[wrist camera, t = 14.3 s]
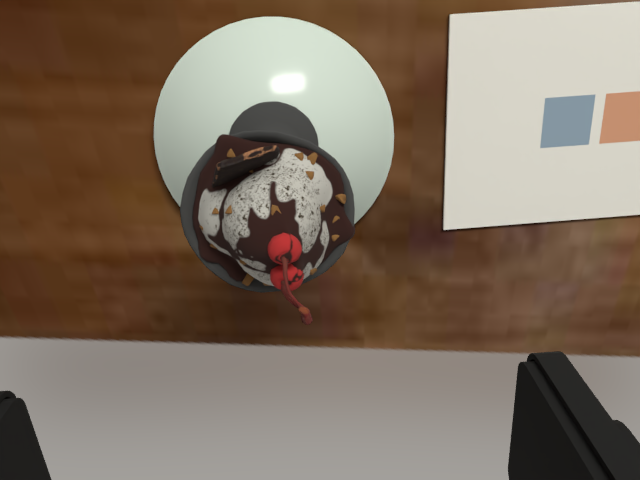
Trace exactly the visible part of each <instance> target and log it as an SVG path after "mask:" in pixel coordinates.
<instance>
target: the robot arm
mask: <svg viewBox="0 0 640 480" xmlns="http://www.w3.org/2000/svg"><path fill="white" fill-rule="evenodd" d="M508 474H509V480H640V443H639V442H638V441H637V439H636V438H635V437H634V435H633V434H632V433H631V431H630V430H629V429H628V428H627V427H626V426H625V425H624V424H623V423H622V422H620V421H618V420H612V419H611V417H610V416H609V415H608V413H607V412H606V411H605V409H604V408H603V406H602V405H601V403H600V402H599V401H598V399H597V398H596V397H595V395H594V394H593V392H592V391H591V390H590V389H589V387H588V386H587V384H586V383H585V382H584V380H583V379H582V377H581V376H580V375H579V373H578V372H577V371H576V369H575V368H574V366H573V365H572V364H571V362H570V361H569V360H568V358H567V357H566V355H565V354H564V353H563V352H560V351H558V352H544V353H531V354H529V356H528V358H527V362H520V364H519V366H518V373H517V384H516V393H515V403H514V414H513V423H512V434H511V443H510V453H509V464H508ZM0 480H51V477H50V474H49V472H48V469H47V466H46V463H45V460H44V457H43V454H42V451H41V449H40V446H39V442H38V440H37V437H36V434H35V431H34V428H33V425H32V422H31V419H30V416H29V413H28V410H27V407H26V405H25V402H24V401H23V400H22V399H21V398H16V396H15V394H13V393H12V392H11V391H0Z"/></svg>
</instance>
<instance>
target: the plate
mask: <svg viewBox="0 0 640 480" xmlns="http://www.w3.org/2000/svg"><path fill="white" fill-rule="evenodd" d="M272 101H278V102H282V103H286V104H289V105H291V106H294V107H296V108H297V109H298V110H300V111H301V112H303V113H304V114H305V115H306V116H307V117H308V118H309V119H310V121H311V123H312V124H313V126H314V128H315V131H316V133H317V136H318V143H319V147H320V148H322V149H323V150H325V151H326V152H327V153H329V154H330V155H331V156H332V157H334V158H335V159H336V160H337V162H338V163H339V164H340V165H341V167H342V168H343V169H344V171H345V173H346V175H347V177H348V179H349V181H350V184H351V188H352V191H353V194H354V206H355V215H354V224H355V223H356V222H357V221H358V220H359V219H360V218H361V217H362V216H363V215H364V214H365V213H366V212H367V211H368V209H369V208H370V207H371V206H372V204H373V203H374V201H375V200H376V198H377V197H378V195H379V193H380V191H381V189H382V187H383V185H384V183H385V181H386V178H387V175H388V172H389V169H390V166H391V161H392V155H393V147H394V128H393V118H392V114H391V109H390V105H389V102H388V99H387V96H386V93H385V91H384V89H383V87H382V85H381V83H380V81H379V79H378V77H377V75H376V74H375V72H374V71H373V70H372V68H371V67H370V65H369V64H368V63H367V61H366V60H365V59H364V58H363V57H362V56H361V55H360V54H359V53H358V52H357V51H356V50H355V49H354V48H353V47H352V46H350V45H349V44H348V43H347V42H346V41H344V40H343V39H342V38H340V37H338V36H337V35H335V34H334V33H332V32H330V31H329V30H327V29H324V28H322V27H320V26H318V25H315V24H313V23H310V22H306V21H303V20H299V19H294V18H287V17H257V18H249V19H245V20H241V21H238V22H234V23H231V24H229V25H227V26H224V27H222V28H220V29H218V30H216V31H214V32H212V33H211V34H209V35H208V36H206V37H204V38H203V39H201V40H200V41H199V42H198V43H196V44H195V45H194V46H193V47H192V48H191V49H189V50H188V51H187V52H186V53H185V55H184V56H183V57H182V58H181V59H180V60H179V61H178V63H177V64H176V65H175V67H174V69H173V70H172V72H171V73H170V75H169V76H168V78H167V80H166V82H165V85H164V87H163V89H162V91H161V94H160V97H159V101H158V104H157V107H156V114H155V120H154V145H155V153H156V158H157V162H158V165H159V169H160V172H161V174H162V177H163V179H164V182H165V184H166V186H167V188H168V189H169V191H170V193H171V195H172V197H173V198H174V199H175V201H176V202H177V203H178V205H179V206H180V205H181V199H182V193H183V190H184V187H185V184H186V180H187V177H188V176H189V174H190V173H191V171H192V169H193V168H194V166H195V165H196V163H197V162H198V160H199V159H200V158H201V157H202V155H203V154H204V153H205V151H206V150H208V149H209V148H210V147H211V146H213V145H214V144H215V143H216V141H217V139H218V137H219V136H220V135H222V134H228V135H229V132H230V129H231V126H232V125H233V123H234V122H235V120H236V119H237V118H238V116H239V115H240V114H241V113H242V112H243V111H245V110H246V109H248V108H249V107H251V106H253V105H256V104H258V103H262V102H272Z"/></svg>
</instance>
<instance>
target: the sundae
mask: <svg viewBox="0 0 640 480" xmlns="http://www.w3.org/2000/svg"><path fill="white" fill-rule="evenodd" d="M180 214H181V222H182V227H183V230H184V234H185V236H186V238H187V240H188V242H189V244H190V246H191V247H192V249H193V250H194V252H195V253H196V255H197V256H198V258H199V259H200V260H201V261H202V262H203V264H204V265H205V266H206V267H207V268H208V269H209V270H211V271H212V272H213V273H214V274H215V275H217V276H218V277H220V278H221V279H223V280H224V281H226V282H227V283H229V284H230V285H233V286H236V287H239V288H242V289H245V290H250V291H256V292H274V291H282V293H283V294H284V296H285V298H286V299H287V300H288V301H289V302H290V303H291V304H292V305H294V306H295V307H297V308H299V311H300V312H301V319H302V322H303V323H304V324H306V325H309V324H310V323H311V322H312V316H311V314H310V310H309V309H308V308H306V307H304V306H303V305H302V304H300V303H299V302H298V301H297V300H296V298H295V297H294V296H293V295H292V293H291V291H292V290H295V289H297V288H298V287H299V286H300V285H301V284H303V283H305V282H307V281H310V280H312V279H314V278H316V277H317V276H319V275H321V274H322V273H324V272H326V271H327V270H328V269H329V268H330V267H331V266H332V265H334V263H335V262H336V261H337V260H338V259H339V258H340V257H341V255H342V254H343V253H344V251H345V249H346V247H347V244H348V242H349V240H350V239H351V238H352V237H353V236H354V234H355V226H354V215H355V206H354V194H353V191H352V188H351V184H350V181H349V179H348V177H347V175H346V173H345V171H344V169H343V168H342V167H341V165H340V164H339V163H338V162H337V160H336V159H335V158H334V157H332V156H331V155H330V154H329V153H327V152H326V151H325V150H323V149H322V148H320V147H319V143H318V136H317V133H316V131H315V128H314V126H313V124H312V123H311V121H310V119H309V118H308V117H307V116H306V115H305V114H304V113H303V112H301V111H300V110H298V109H297V108H296V107H294V106H291V105H289V104H286V103H282V102H278V101H272V102H262V103H258V104H256V105H253V106H251V107H249V108H248V109H246V110H245V111H243V112H242V113H241V114H240V115H239V116H238V118H237V119H236V120H235V122H234V123H233V125H232V126H231V129H230V132H229V135H228V134H222V135H220V136H219V137H218V139H217V141H216V143H215V144H214V145H213V146H211V147H210V148H209V149H208V150H206V151H205V153H204V154H203V155H202V157H201V158H200V159H199V160H198V162H197V163H196V165H195V166H194V168H193V169H192V171H191V173H190V174H189V176H188V177H187V180H186V184H185V187H184V190H183V193H182V199H181V205H180ZM287 292H288V293H287ZM290 297H291V298H290Z"/></svg>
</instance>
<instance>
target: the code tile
mask: <svg viewBox="0 0 640 480" xmlns="http://www.w3.org/2000/svg"><path fill="white" fill-rule="evenodd" d="M629 215H640V1H638V2H623V3H608V4H594V5H579V6H565V7H550V8H535V9H521V10H506V11H491V12H477V13H462V14H449V34H448V68H447V102H446V135H445V169H444V202H443V230H449V229H462V228H475V227H488V226H501V225H513V224H526V223H539V222H552V221H565V220H577V219H590V218H603V217H616V216H629Z"/></svg>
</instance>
